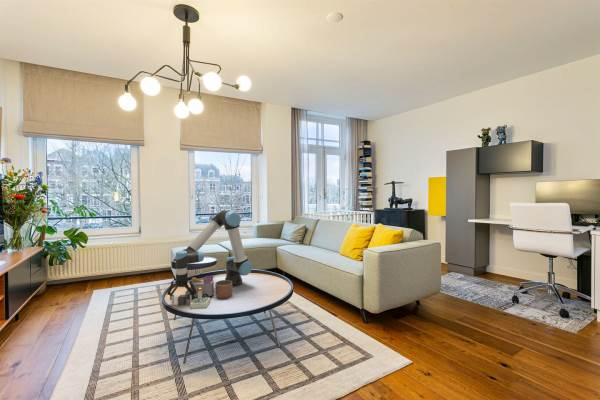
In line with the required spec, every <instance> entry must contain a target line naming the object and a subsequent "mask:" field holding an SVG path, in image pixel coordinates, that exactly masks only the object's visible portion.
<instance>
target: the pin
mask: <svg viewBox="0 0 600 400" xmlns="http://www.w3.org/2000/svg"><path fill="white" fill-rule="evenodd" d="M202 289H203V287H198V288H197V293H198V296H197V298H198V303H202V297H203V296H202Z"/></svg>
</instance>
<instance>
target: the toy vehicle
mask: <svg viewBox="0 0 600 400" xmlns="http://www.w3.org/2000/svg"><path fill="white" fill-rule="evenodd" d="M204 277H205V278H202V280H201V279H198V278H197V277H192V278H191V280H192V283H193V285H194V287H195V289H196V292H197V288H198V287H203V289H202V297H208V298H209V297H212V296H213V295H214V294H215V288H214V287H215V282H214V281H215V280H214V275H205V276H204ZM189 287H190V288H191V286H190V285H189ZM191 290H192V288H191ZM192 291H193V290H192ZM184 295H186V298H187V299H189V300H190V295H191V294H190V292H189V291H188V290H187V289H186V290H185V293H184ZM194 298H198V293H196V294H194Z"/></svg>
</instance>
